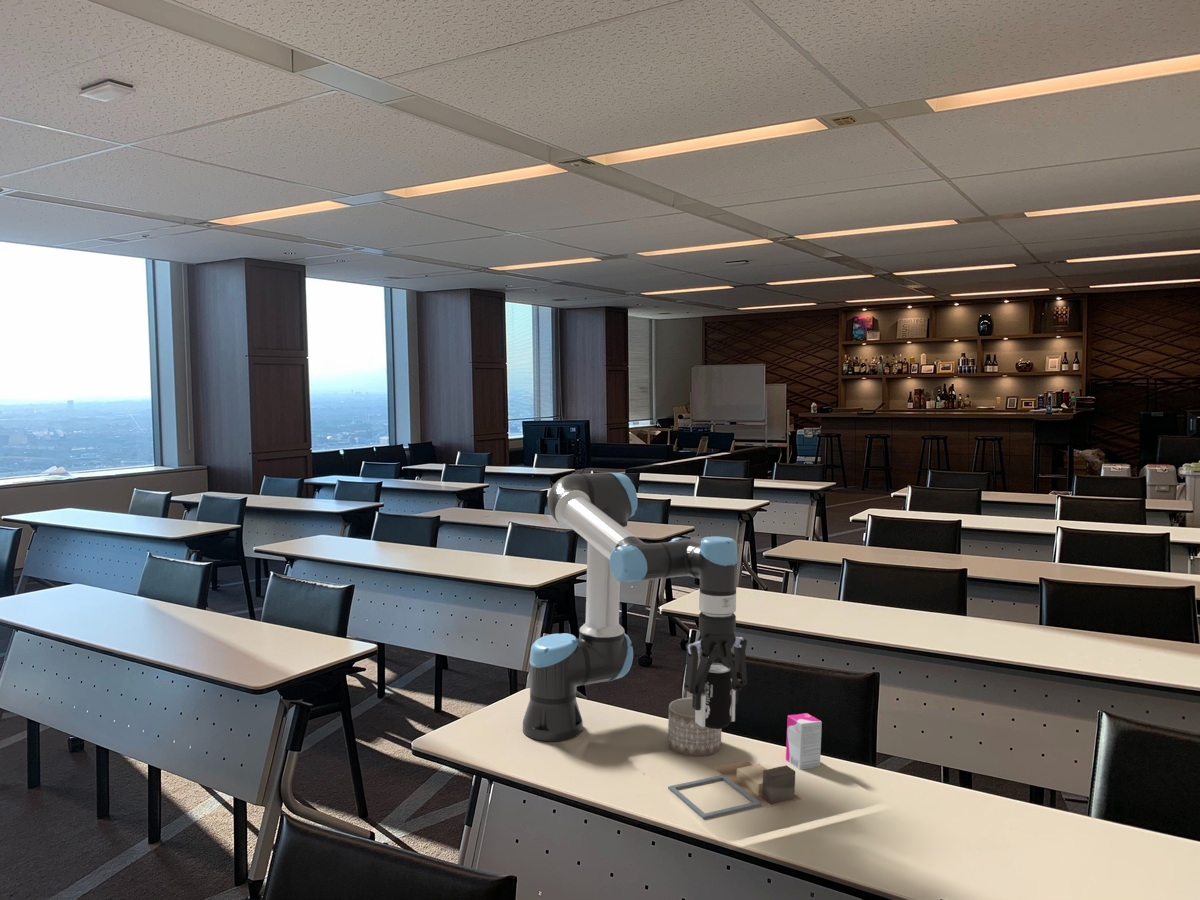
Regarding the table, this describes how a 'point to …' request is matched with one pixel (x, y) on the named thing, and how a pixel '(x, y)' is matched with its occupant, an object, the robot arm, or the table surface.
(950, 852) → the table surface
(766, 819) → the table surface
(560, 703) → the robot arm
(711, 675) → the beverage can
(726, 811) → the picture frame
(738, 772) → the beige wooden block
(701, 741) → the planter
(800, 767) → the supplement box
